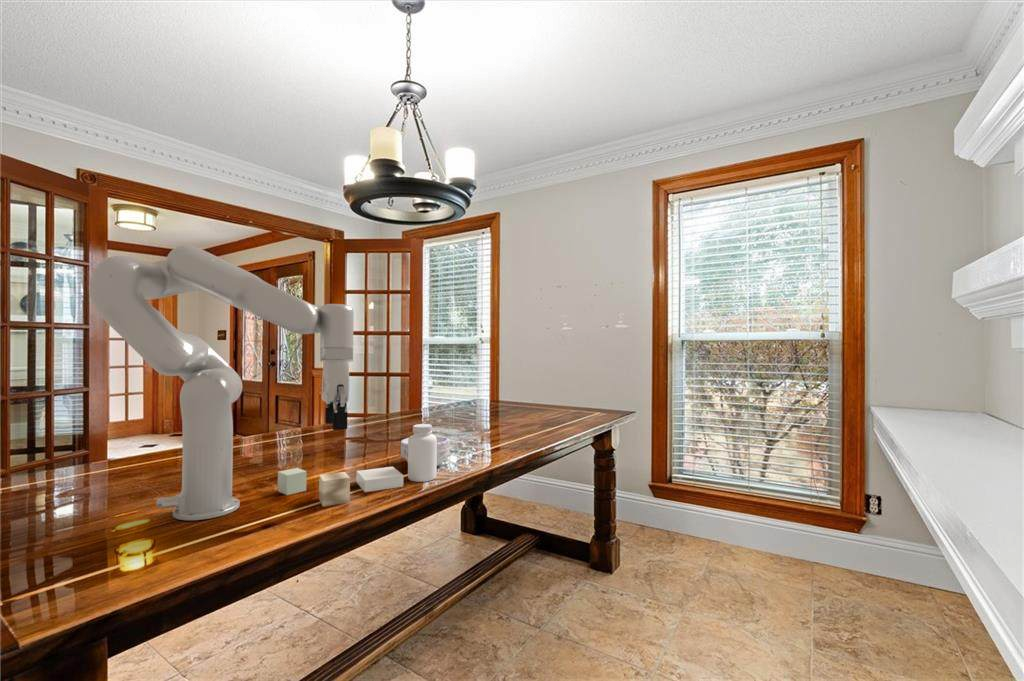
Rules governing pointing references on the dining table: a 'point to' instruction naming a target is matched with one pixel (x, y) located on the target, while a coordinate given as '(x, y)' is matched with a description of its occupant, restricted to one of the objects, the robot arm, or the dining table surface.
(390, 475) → the plinth
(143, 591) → the dining table surface
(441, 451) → the paper bowls
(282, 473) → the sage cube
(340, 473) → the maple cube
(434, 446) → the pill bottle
